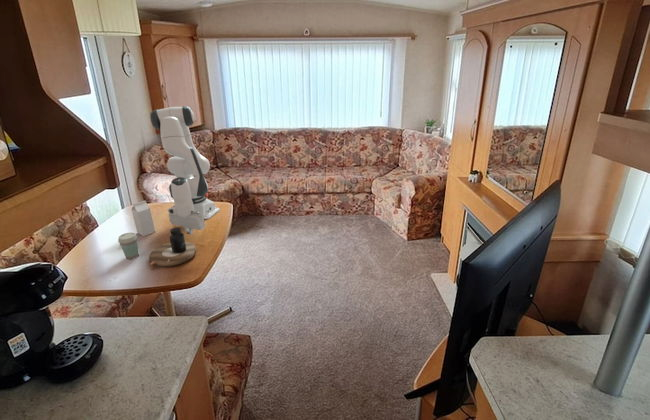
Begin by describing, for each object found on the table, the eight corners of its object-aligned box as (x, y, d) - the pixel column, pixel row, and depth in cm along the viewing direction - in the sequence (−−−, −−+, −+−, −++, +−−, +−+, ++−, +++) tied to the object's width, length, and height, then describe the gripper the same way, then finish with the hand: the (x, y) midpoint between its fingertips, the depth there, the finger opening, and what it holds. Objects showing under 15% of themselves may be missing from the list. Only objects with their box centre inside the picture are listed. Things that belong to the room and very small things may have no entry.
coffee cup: (133, 251, 190) (127, 230, 186) (145, 254, 187) (140, 233, 183) (119, 259, 183) (113, 238, 178) (131, 262, 180) (125, 241, 175)
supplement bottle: (187, 252, 182) (183, 230, 178) (172, 255, 180) (168, 233, 175) (186, 246, 188) (182, 225, 183) (171, 249, 186) (167, 227, 181)
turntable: (156, 246, 192) (153, 233, 189) (199, 242, 195) (196, 229, 192) (144, 268, 172) (140, 254, 169) (192, 263, 175) (189, 249, 172)
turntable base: (173, 245, 195) (172, 239, 194) (199, 251, 188) (198, 245, 187) (138, 266, 176) (137, 260, 175) (166, 274, 170) (165, 267, 168)
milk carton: (155, 231, 211) (148, 201, 204) (143, 236, 206) (136, 205, 198) (149, 228, 215) (142, 198, 208) (137, 233, 210) (129, 202, 202)
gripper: (205, 210, 181) (209, 234, 187) (174, 204, 189) (179, 228, 194) (196, 215, 176) (201, 240, 182) (165, 209, 183) (170, 233, 189)
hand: (189, 233), depth 188 cm, fingers closed
